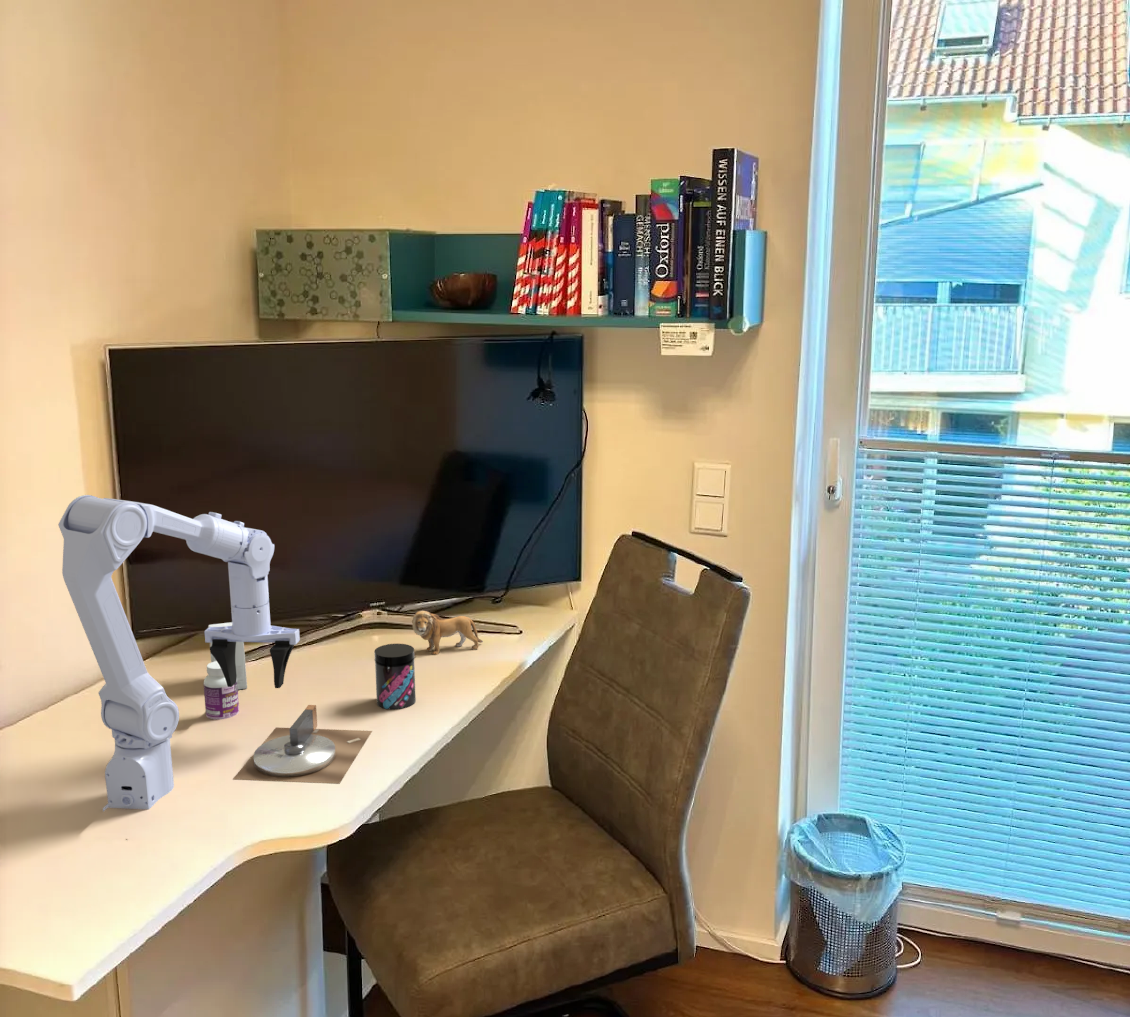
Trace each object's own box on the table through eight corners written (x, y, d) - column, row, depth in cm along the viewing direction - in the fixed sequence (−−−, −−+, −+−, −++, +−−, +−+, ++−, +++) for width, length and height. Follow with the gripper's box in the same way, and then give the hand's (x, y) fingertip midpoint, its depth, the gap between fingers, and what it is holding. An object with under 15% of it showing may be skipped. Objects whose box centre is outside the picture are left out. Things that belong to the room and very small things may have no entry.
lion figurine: (418, 660, 204) (417, 616, 202) (408, 652, 209) (407, 608, 207) (487, 648, 211) (487, 605, 209) (477, 640, 215) (476, 597, 213)
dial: (321, 778, 154) (319, 747, 153) (241, 774, 155) (239, 744, 154) (350, 734, 169) (349, 706, 168) (277, 731, 170) (275, 703, 169)
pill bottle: (229, 726, 175) (225, 671, 173) (200, 723, 176) (195, 669, 174) (245, 713, 180) (241, 659, 178) (217, 710, 181) (212, 657, 179)
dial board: (339, 789, 153) (339, 782, 153) (233, 785, 154) (232, 778, 154) (372, 736, 171) (372, 730, 170) (276, 733, 172) (275, 726, 172)
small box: (247, 689, 190) (243, 633, 188) (215, 693, 188) (210, 637, 186) (243, 674, 197) (239, 620, 195) (212, 678, 195) (207, 624, 193)
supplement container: (369, 712, 180) (367, 655, 178) (387, 697, 186) (384, 641, 184) (406, 717, 178) (404, 658, 176) (422, 702, 184) (420, 645, 182)
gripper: (303, 596, 167) (308, 676, 170) (214, 594, 168) (220, 674, 171) (289, 610, 161) (294, 693, 164) (196, 608, 162) (203, 691, 165)
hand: (255, 685), depth 167 cm, fingers open, 7 cm apart
